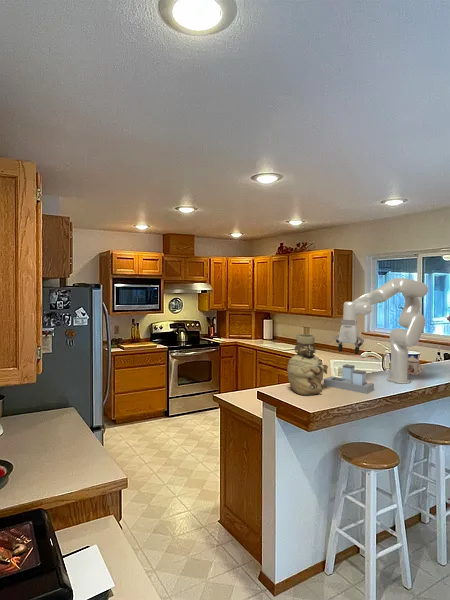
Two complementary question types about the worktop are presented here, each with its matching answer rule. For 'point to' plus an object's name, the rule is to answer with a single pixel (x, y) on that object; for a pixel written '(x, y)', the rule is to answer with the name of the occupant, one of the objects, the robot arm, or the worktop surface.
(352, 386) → the grey slotted holder
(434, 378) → the worktop surface
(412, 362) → the teacup with lid
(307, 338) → the ceramic vessel
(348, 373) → the plug
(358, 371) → the twin plug
